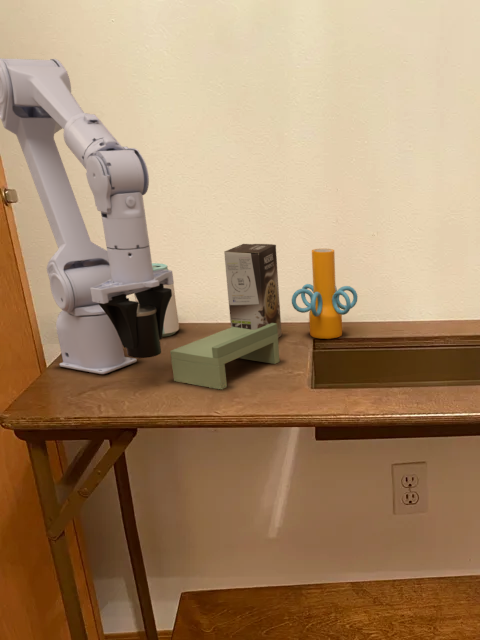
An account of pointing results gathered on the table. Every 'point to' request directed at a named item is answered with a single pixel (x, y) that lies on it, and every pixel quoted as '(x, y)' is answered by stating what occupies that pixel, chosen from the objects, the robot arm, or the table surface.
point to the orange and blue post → (324, 297)
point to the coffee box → (253, 286)
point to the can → (168, 307)
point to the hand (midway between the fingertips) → (142, 343)
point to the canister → (146, 333)
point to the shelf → (223, 354)
